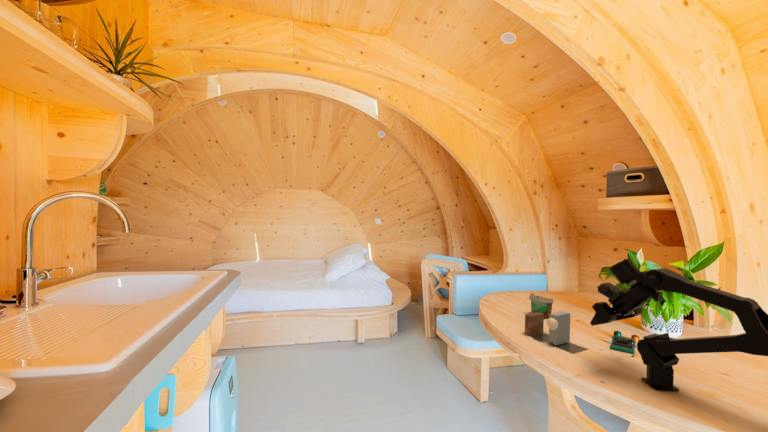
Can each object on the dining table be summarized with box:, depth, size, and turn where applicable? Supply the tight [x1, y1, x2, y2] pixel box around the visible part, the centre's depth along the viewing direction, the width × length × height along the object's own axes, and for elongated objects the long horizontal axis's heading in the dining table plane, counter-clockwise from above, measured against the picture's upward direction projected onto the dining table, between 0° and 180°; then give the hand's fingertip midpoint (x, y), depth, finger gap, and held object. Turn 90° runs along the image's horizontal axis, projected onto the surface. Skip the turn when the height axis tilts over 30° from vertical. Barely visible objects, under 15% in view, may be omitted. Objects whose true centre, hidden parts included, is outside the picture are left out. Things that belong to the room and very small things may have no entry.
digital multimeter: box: [609, 335, 636, 358], centre depth 128 cm, size 7×15×3 cm, turn 143°
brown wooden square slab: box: [524, 312, 545, 337], centre depth 140 cm, size 2×8×8 cm, turn 117°
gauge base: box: [521, 332, 589, 355], centre depth 132 cm, size 22×10×1 cm, turn 27°
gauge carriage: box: [546, 310, 571, 346], centre depth 130 cm, size 6×10×11 cm, turn 117°
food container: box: [528, 292, 555, 320], centre depth 165 cm, size 12×6×10 cm, turn 25°
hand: (599, 322), depth 117 cm, fingers open, 9 cm apart
